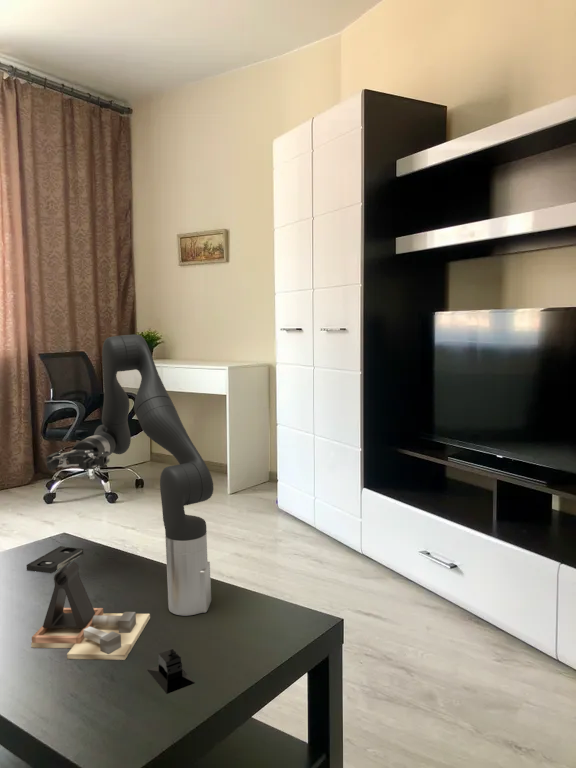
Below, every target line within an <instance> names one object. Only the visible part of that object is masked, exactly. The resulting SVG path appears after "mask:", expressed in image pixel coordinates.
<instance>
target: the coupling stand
mask: <svg viewBox="0 0 576 768" xmlns="http://www.w3.org/2000/svg"><path fill="white" fill-rule="evenodd" d="M93 609H94V611H95V614H94V616H93V617H92V618H91V620H90V621H89V622H88V624H87V625H86V626H85V628H65V627H64V628H43V625H41V627H39V629H38V630H37V631H36V632H35V633H34V634H33V635H32V636H31V642H30V645H31V646H30V647H31V648H34V649H36V648H38V649H42V648H43V649H70V650H69V651H68V652H67V653H66V656H67V657H66V658H67V660H111V661H112V660H117V661H120V660H121V661H122V660H123V661H125V660H126V659H127V658H128V656H129V654H130V652H131V651H132V649H133V647H134V646H135V644H136V642H137V640H139V638H140V635H141V634H142V633H143V631H144V629H145V627H147V624H148V623H149V620H150V619H151V613H136V611H124V612H123V613H120V612H119V613H118V612H117V613H111V612H110V613H104V608H103V607H93ZM63 612H64V613H72V610H71V607H64V609H63Z"/></svg>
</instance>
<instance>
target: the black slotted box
mask: <svg viewBox="0 0 576 768" xmlns="http://www.w3.org/2000/svg"><path fill="white" fill-rule="evenodd" d="M157 661H158V662H157V663H158V665H157V666H154V667H150V668H148V669H147V671H148V673H149V674H150V675H151V677H152V678H153V679H154V681H156V683H157V684H158V685H159V687H160V688H161V689H162V691H163V692H165V694H166V695H168V694H170V693H174V692H176V691H178V690H182V689H184V688H187V687H189V686H192V685H193V684H196V681H194V680H193V678H191V677H190V676H189V674H187V672H186V671H185V670H184V669H183V664H182V656H180V655H179V654H178V653H177V652H176V651H175V649H174V648H173V649H168V650H166V651H163V652H160V653H158V659H157Z"/></svg>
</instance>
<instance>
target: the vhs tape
mask: <svg viewBox="0 0 576 768" xmlns="http://www.w3.org/2000/svg"><path fill="white" fill-rule="evenodd" d="M83 555H84V548H81V547H73V546H72V547H71V546H63V545H60V546H58V547H56V548H55V549H53V550H51V551H49V552H48V553H46V554H44V555H42V556H40V557H38V558H37V559H35V560H33V561H31V562H29V563H27V564H26V571H27V572H28V571H29V572H35V571H36V572H37V573H38V572H39V573H45V574H53V573H55V572H57V571H59V570H60V569H62V568H63V567H64V566H65V565H66V564H67V563H68V562H69V561H70V563H72V562H74V560H77V559H78V558H79V557H81V556H83ZM59 568H60V569H59ZM56 570H57V571H56Z"/></svg>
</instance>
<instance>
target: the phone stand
mask: <svg viewBox="0 0 576 768" xmlns="http://www.w3.org/2000/svg"><path fill="white" fill-rule="evenodd" d="M70 563H71V564H70ZM68 565H69V566H68ZM53 576H54V577H53V581H54V588H53V591H52V595H51V597H50V601H49V605H48V607H47V610H46V614H45V617H44V621H43V624H42V626H43V628H64V627H65V628H85V626H86V625H87V624H88V622H89V621H90V620H91V618H92V617H93V616H94V614H95V611H94V609H93V608H94V607H93V605H92V602H91V600H90V597H89V595H88V592H87V591H86V588H85V586H84V583H83V581H82V578H81V576H80V566H79V564H78V563H77V562H76V561H72V562H70V561H69V562H68V563H67V564H66V565H65V566H63V567H61V568H60V569H58V570H57V571H56V573H55V574H54V575H53ZM66 598H67V601H68V605H69V608H71V610H72V613H64V612H63V609H64V608H65V604H66V603H65V602H66Z"/></svg>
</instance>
